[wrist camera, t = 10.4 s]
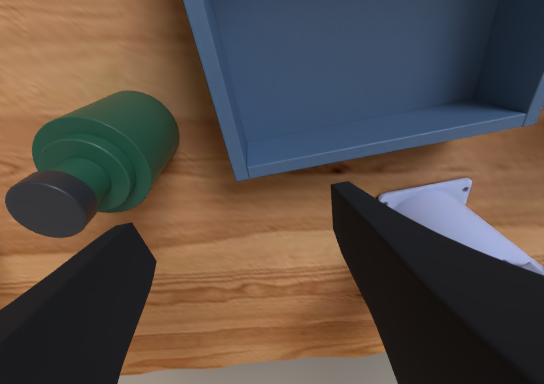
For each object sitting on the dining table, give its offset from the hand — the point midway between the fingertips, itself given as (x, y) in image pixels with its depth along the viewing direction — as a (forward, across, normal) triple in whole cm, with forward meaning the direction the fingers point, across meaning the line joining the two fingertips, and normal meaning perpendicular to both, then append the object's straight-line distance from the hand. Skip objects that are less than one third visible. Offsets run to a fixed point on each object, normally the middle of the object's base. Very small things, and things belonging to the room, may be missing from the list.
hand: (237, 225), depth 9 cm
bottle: (+10, +7, -2) cm, 13 cm away
